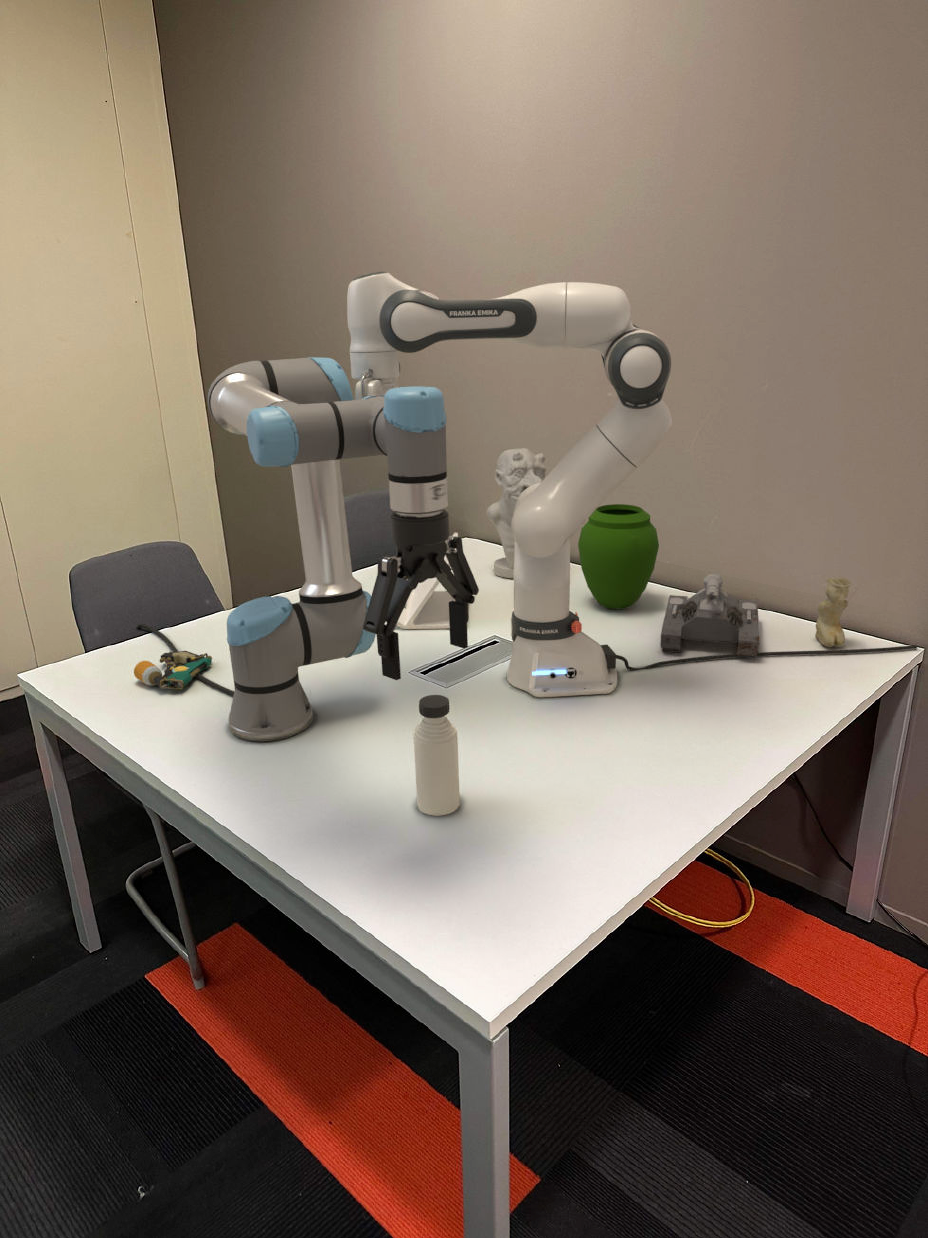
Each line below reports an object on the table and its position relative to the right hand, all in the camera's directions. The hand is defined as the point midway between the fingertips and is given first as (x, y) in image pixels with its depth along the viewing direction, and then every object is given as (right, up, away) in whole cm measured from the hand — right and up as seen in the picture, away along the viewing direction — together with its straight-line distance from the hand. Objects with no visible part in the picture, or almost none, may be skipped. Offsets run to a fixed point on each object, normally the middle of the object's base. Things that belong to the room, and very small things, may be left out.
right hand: (379, 443), depth 162 cm
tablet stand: (+7, -31, +52) cm, 61 cm away
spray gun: (-45, -45, +19) cm, 67 cm away
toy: (+71, -38, +31) cm, 86 cm away
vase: (+54, -30, +53) cm, 81 cm away
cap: (+12, -46, -35) cm, 59 cm away
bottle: (+12, -62, -29) cm, 70 cm away
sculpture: (+96, -39, +26) cm, 107 cm away
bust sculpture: (+33, -21, +77) cm, 87 cm away
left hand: (+11, -39, -44) cm, 59 cm away
